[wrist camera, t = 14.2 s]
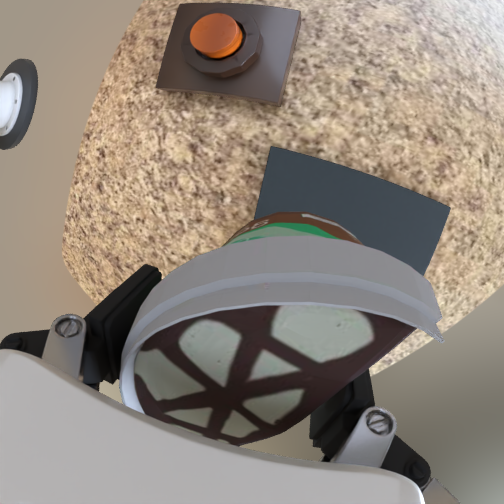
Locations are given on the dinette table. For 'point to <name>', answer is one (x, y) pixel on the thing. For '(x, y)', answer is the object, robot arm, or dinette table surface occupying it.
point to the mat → (355, 205)
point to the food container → (269, 328)
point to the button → (216, 35)
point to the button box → (241, 61)
